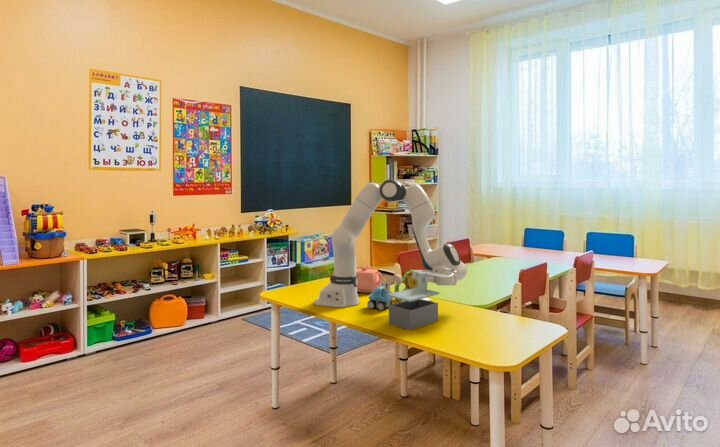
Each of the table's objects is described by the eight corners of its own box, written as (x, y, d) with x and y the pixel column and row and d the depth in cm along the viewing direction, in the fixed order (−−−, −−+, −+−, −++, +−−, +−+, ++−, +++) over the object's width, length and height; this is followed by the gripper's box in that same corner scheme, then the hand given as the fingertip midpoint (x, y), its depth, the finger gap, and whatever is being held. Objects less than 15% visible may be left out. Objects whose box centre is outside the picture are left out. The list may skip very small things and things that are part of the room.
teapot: (386, 287, 263) (386, 263, 262) (379, 295, 244) (379, 269, 243) (353, 285, 268) (353, 262, 267) (343, 293, 249) (343, 268, 248)
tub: (388, 323, 193) (388, 305, 192) (416, 315, 205) (416, 298, 204) (410, 330, 184) (410, 310, 183) (437, 321, 196) (438, 303, 195)
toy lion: (397, 301, 229) (397, 272, 228) (393, 299, 235) (393, 270, 233) (425, 299, 234) (425, 270, 233) (421, 296, 240) (421, 268, 238)
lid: (386, 297, 192) (386, 275, 191) (416, 290, 205) (416, 269, 204) (409, 303, 182) (410, 280, 182) (439, 295, 195) (439, 273, 194)
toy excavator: (396, 313, 209) (396, 276, 207) (365, 308, 218) (365, 273, 216) (404, 309, 216) (404, 273, 215) (374, 304, 225) (374, 270, 223)
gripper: (423, 265, 213) (403, 269, 204) (459, 271, 198) (439, 275, 189) (423, 278, 214) (403, 282, 204) (459, 285, 198) (439, 290, 189)
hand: (421, 279), depth 196 cm, fingers closed on lid
